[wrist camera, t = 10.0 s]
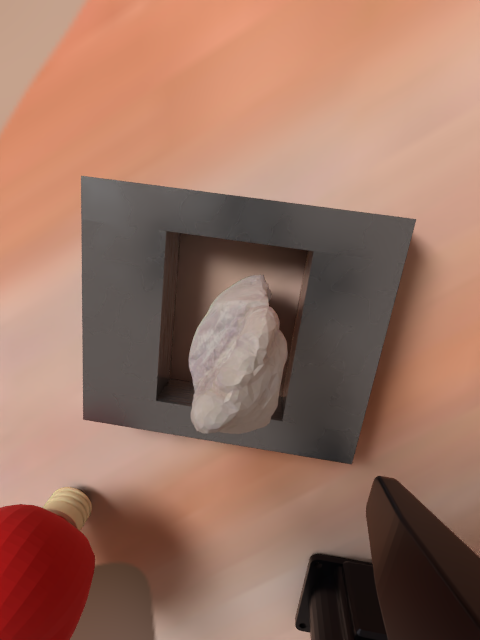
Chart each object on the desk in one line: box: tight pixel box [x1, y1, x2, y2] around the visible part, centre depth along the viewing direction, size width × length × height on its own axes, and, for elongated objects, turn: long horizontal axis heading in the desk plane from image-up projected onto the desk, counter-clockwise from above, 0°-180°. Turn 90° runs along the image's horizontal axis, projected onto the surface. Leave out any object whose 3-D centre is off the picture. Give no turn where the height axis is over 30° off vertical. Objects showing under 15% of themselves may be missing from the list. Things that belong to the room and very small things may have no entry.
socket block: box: [81, 176, 416, 464], centre depth 18 cm, size 12×14×2 cm
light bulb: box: [0, 487, 95, 640], centre depth 19 cm, size 9×7×10 cm
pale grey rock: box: [189, 275, 288, 434], centre depth 15 cm, size 6×4×10 cm, turn 175°
